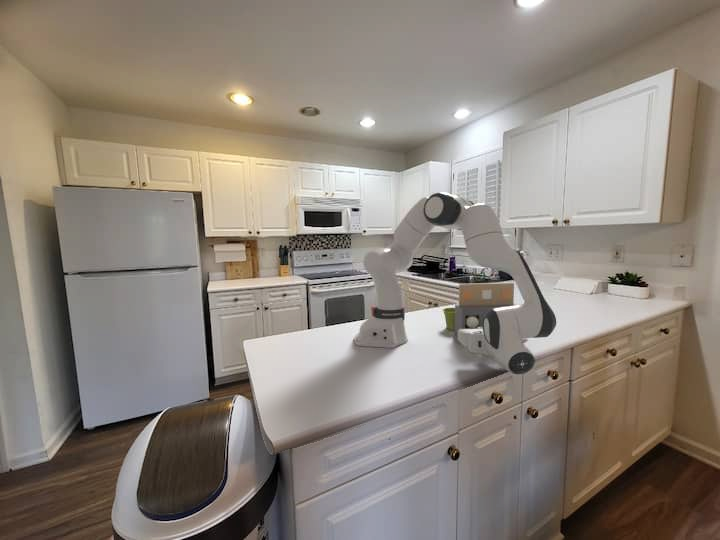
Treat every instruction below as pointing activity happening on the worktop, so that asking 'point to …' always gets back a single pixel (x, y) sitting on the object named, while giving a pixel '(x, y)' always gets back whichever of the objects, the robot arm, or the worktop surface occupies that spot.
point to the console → (481, 301)
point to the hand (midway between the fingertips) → (481, 328)
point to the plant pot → (450, 318)
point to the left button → (471, 321)
